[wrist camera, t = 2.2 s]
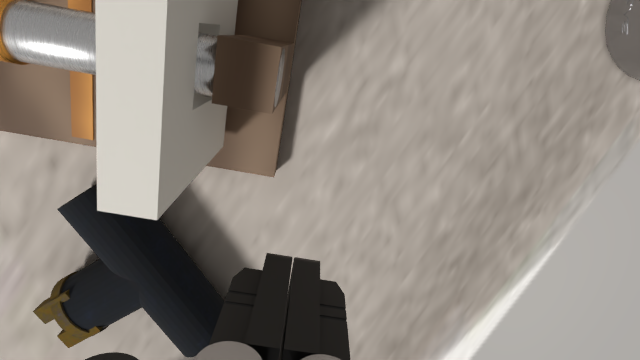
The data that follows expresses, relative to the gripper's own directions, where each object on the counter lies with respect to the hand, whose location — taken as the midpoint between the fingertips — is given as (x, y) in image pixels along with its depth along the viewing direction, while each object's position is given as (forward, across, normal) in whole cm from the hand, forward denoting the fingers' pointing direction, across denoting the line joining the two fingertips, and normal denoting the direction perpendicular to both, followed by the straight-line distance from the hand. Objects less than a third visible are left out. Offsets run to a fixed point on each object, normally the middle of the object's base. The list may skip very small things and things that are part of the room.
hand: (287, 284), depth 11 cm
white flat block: (+18, +7, -4) cm, 20 cm away
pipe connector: (+21, +13, +15) cm, 29 cm away
